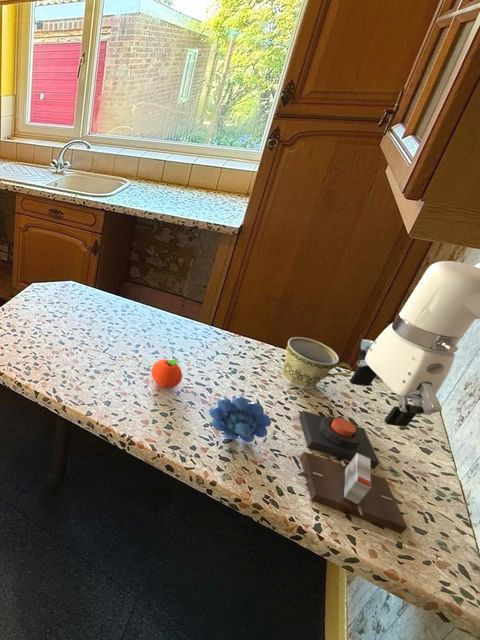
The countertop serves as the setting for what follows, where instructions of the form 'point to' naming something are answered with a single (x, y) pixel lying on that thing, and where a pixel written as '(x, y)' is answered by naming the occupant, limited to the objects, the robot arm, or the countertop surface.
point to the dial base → (329, 491)
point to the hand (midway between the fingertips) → (375, 403)
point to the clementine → (166, 373)
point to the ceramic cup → (309, 362)
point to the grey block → (357, 478)
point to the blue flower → (240, 419)
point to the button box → (335, 439)
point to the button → (343, 427)
